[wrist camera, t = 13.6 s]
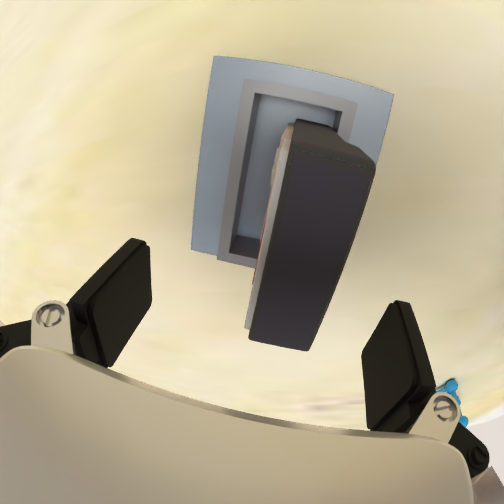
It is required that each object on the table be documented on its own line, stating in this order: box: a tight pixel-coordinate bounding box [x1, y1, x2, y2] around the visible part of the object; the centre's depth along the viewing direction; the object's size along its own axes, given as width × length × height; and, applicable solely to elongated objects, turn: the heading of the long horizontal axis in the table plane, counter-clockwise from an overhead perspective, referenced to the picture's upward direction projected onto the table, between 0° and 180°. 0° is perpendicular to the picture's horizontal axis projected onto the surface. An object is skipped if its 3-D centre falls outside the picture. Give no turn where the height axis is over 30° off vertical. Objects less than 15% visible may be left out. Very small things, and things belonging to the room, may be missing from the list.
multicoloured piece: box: [245, 118, 376, 351], centre depth 20 cm, size 11×4×15 cm, turn 171°
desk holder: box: [191, 56, 394, 268], centre depth 25 cm, size 16×20×4 cm
